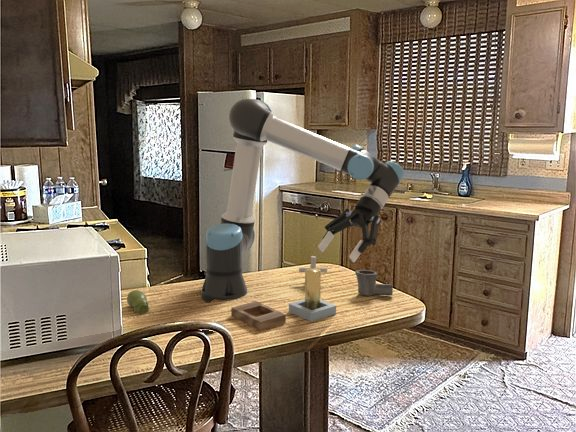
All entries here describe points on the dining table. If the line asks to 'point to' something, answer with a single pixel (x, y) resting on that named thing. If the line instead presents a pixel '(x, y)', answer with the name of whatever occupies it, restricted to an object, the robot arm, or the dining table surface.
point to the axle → (312, 288)
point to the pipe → (371, 284)
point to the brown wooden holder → (258, 315)
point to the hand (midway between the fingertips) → (335, 254)
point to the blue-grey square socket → (312, 315)
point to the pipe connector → (313, 266)
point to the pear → (138, 301)
